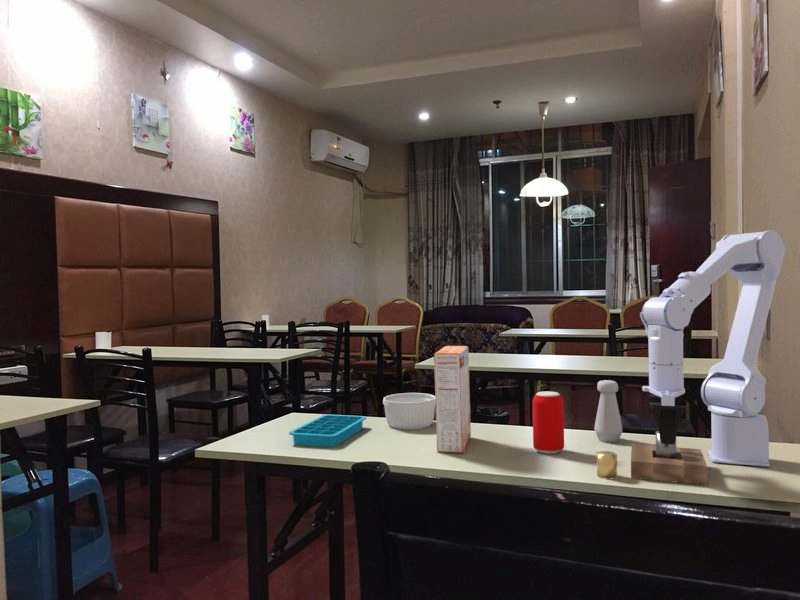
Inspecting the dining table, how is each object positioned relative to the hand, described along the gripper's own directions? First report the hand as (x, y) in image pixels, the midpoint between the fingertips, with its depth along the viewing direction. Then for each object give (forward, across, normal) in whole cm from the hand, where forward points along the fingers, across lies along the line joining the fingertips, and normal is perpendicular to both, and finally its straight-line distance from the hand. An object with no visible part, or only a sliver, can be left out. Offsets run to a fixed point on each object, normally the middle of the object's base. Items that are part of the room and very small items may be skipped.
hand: (667, 438), depth 108 cm
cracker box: (+6, -6, -42) cm, 43 cm away
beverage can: (+6, -7, -22) cm, 24 cm away
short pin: (+6, +6, -10) cm, 13 cm away
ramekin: (+6, -21, -58) cm, 62 cm away
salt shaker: (+6, -20, -11) cm, 24 cm away
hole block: (+6, 0, 0) cm, 6 cm away
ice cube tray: (+6, -5, -72) cm, 73 cm away
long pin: (+6, 0, 0) cm, 6 cm away
